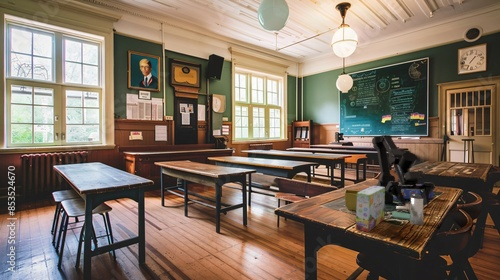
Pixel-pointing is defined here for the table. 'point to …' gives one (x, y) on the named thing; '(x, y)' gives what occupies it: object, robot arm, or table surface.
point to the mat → (401, 215)
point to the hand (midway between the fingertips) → (416, 204)
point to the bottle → (416, 209)
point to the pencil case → (408, 193)
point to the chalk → (402, 207)
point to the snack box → (370, 208)
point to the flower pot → (351, 199)
